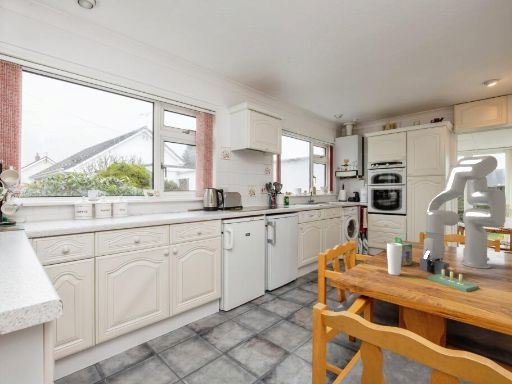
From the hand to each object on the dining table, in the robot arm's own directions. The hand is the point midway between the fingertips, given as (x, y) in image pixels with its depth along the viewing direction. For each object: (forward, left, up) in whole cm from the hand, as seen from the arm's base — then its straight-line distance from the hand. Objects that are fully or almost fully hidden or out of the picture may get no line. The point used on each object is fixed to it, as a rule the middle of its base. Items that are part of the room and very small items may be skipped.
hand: (434, 271), depth 132 cm
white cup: (+21, -6, -1) cm, 22 cm away
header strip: (+8, +13, -1) cm, 16 cm away
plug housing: (0, +2, -1) cm, 2 cm away
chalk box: (+2, -18, -1) cm, 18 cm away
